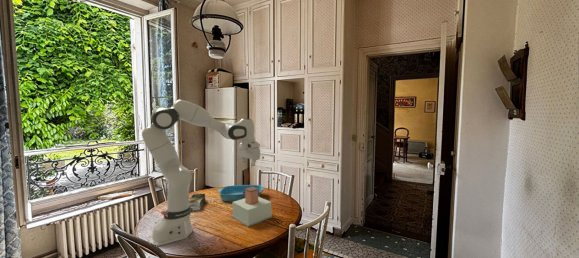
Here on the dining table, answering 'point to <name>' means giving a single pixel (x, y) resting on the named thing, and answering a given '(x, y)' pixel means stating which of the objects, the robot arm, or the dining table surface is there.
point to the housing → (251, 211)
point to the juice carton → (196, 201)
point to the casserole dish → (236, 192)
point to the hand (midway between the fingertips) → (249, 164)
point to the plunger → (251, 195)
